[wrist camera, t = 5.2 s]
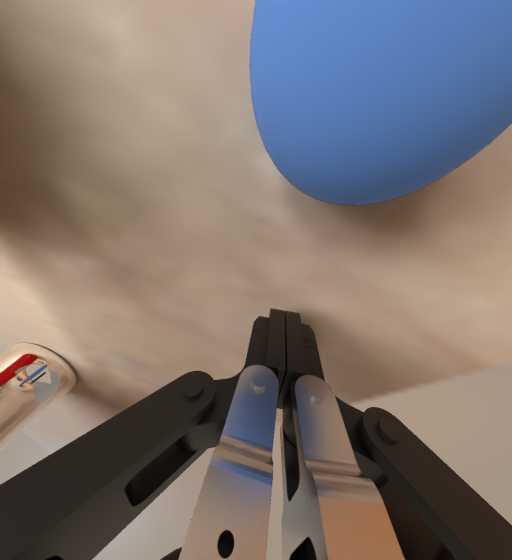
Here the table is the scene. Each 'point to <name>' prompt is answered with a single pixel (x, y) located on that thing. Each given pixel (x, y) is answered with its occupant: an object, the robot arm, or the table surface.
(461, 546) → the robot arm
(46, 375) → the beer glass
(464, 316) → the table surface
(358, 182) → the ball
